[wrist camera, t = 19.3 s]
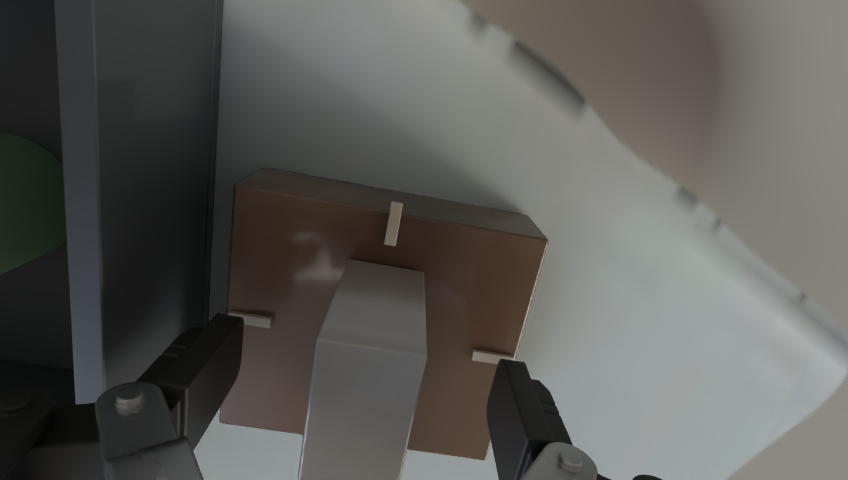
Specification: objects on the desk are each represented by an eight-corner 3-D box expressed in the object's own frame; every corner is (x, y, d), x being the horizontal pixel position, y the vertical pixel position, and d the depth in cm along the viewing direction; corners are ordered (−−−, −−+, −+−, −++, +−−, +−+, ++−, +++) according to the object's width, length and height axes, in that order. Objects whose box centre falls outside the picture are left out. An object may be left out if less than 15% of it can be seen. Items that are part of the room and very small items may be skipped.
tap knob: (347, 257, 15) (313, 344, 10) (424, 271, 15) (428, 362, 10) (326, 399, 17) (288, 533, 12) (395, 410, 17) (387, 546, 12)
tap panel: (246, 382, 20) (216, 434, 17) (264, 157, 17) (231, 173, 14) (474, 415, 21) (484, 472, 18) (531, 206, 18) (554, 231, 15)
